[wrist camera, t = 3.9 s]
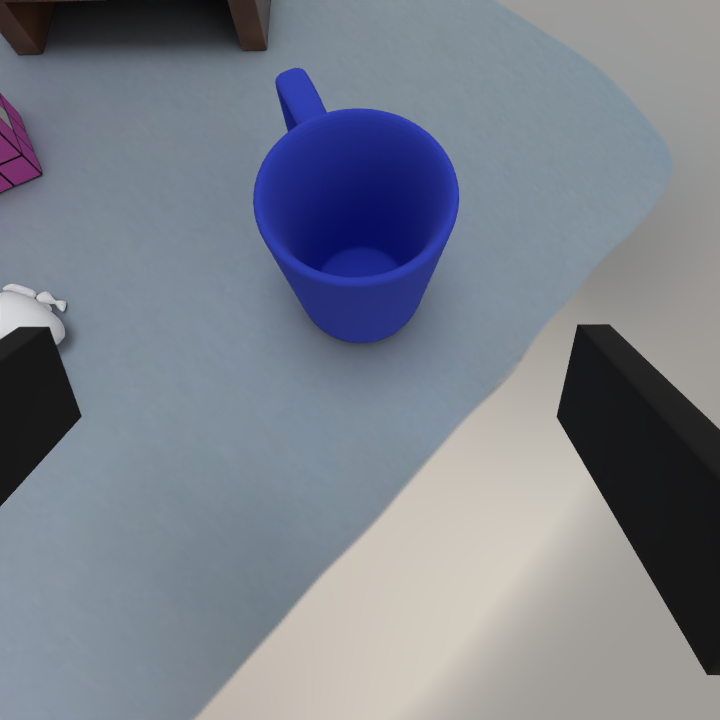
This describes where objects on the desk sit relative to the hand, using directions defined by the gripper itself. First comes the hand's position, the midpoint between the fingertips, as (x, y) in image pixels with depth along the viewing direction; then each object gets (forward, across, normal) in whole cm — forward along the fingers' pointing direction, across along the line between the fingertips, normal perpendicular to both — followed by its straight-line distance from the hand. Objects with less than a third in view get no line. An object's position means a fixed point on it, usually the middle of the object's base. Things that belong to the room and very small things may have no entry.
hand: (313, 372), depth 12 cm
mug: (+18, 0, -3) cm, 18 cm away
